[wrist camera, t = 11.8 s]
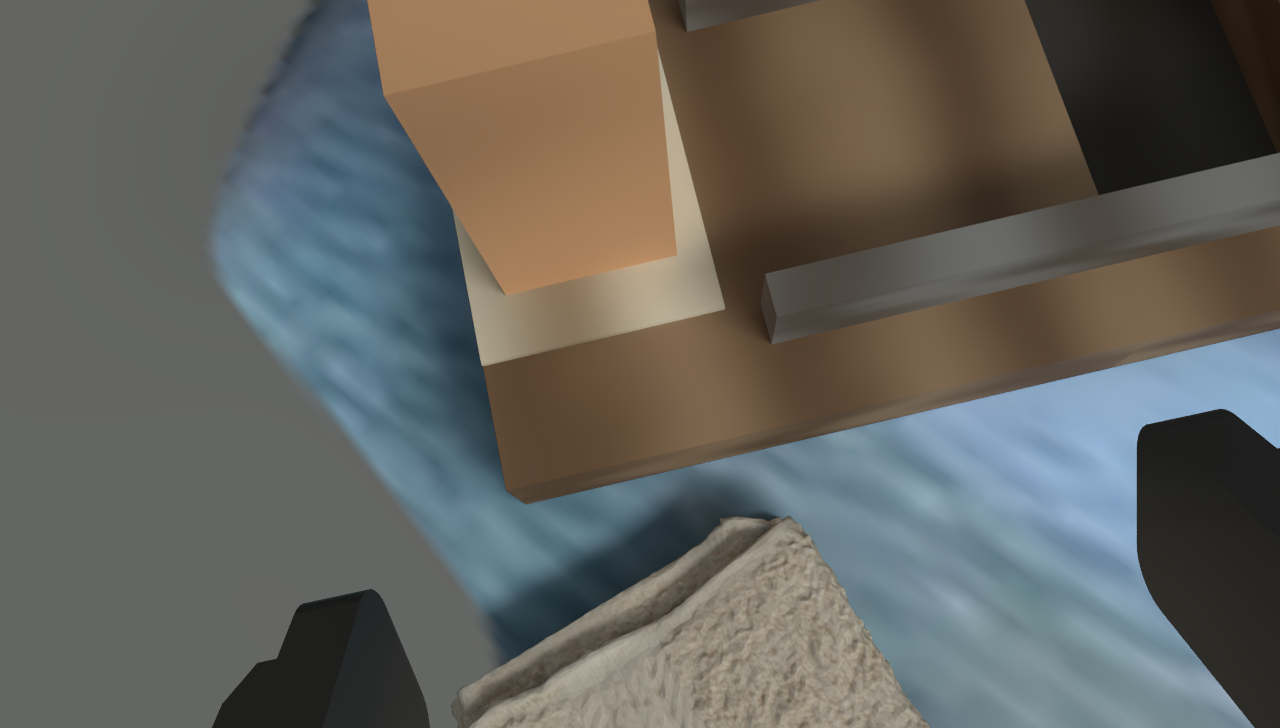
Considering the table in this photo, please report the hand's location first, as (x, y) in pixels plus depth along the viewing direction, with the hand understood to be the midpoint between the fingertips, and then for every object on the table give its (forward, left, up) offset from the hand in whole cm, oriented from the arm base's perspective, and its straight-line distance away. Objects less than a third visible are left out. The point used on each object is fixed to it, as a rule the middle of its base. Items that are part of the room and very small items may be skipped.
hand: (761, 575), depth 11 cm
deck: (-8, -12, -19) cm, 24 cm away
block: (+2, -12, -16) cm, 20 cm away
